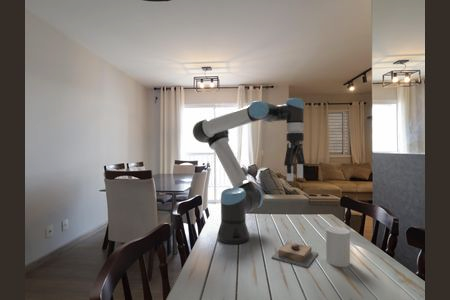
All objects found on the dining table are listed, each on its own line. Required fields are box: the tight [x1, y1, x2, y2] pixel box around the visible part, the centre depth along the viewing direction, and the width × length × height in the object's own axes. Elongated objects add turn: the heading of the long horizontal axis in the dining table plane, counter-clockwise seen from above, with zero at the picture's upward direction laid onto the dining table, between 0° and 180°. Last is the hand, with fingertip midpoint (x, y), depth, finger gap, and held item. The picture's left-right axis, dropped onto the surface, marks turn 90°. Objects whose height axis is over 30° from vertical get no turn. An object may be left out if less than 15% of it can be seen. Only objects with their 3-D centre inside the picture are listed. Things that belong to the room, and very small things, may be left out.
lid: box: [277, 241, 313, 262], centre depth 101 cm, size 10×10×4 cm
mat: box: [271, 250, 319, 269], centre depth 101 cm, size 14×14×1 cm
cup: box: [325, 226, 351, 268], centre depth 96 cm, size 8×8×12 cm
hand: (295, 179), depth 116 cm, fingers open, 13 cm apart
